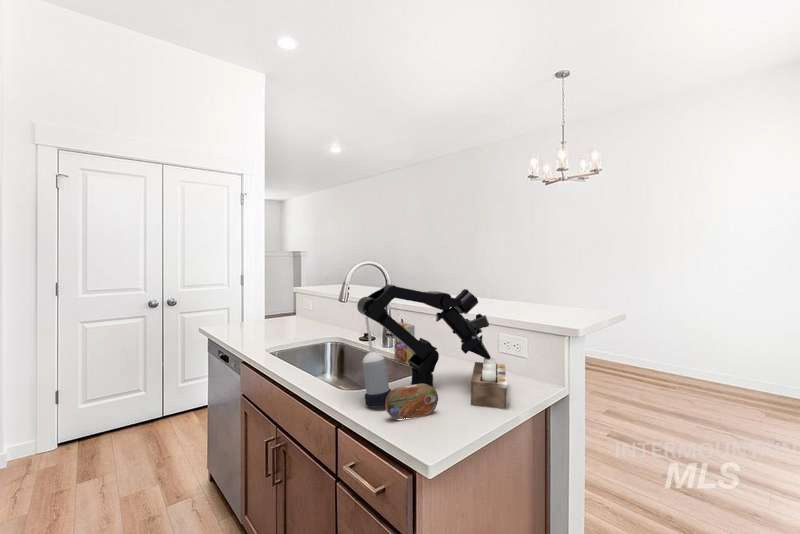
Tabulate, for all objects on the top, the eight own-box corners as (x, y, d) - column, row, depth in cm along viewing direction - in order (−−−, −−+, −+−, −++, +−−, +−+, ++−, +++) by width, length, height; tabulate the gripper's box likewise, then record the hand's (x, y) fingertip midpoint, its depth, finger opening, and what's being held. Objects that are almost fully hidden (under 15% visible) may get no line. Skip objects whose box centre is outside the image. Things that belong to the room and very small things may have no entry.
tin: (388, 423, 98) (388, 391, 98) (383, 418, 101) (383, 387, 101) (438, 413, 104) (438, 383, 104) (433, 409, 107) (433, 380, 107)
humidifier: (379, 397, 115) (367, 316, 118) (399, 399, 110) (386, 314, 112) (359, 406, 109) (347, 320, 112) (379, 408, 104) (366, 317, 106)
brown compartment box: (470, 405, 110) (471, 380, 110) (474, 382, 129) (475, 361, 129) (506, 408, 108) (506, 384, 107) (504, 384, 127) (505, 363, 127)
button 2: (483, 374, 123) (483, 360, 123) (483, 370, 127) (483, 357, 127) (495, 375, 122) (496, 361, 122) (495, 371, 126) (496, 358, 126)
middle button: (482, 380, 117) (482, 365, 117) (483, 375, 121) (483, 362, 121) (495, 381, 116) (496, 366, 116) (495, 377, 120) (496, 363, 120)
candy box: (393, 359, 156) (393, 322, 155) (401, 357, 159) (402, 321, 158) (406, 364, 149) (406, 326, 148) (414, 362, 151) (415, 325, 151)
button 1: (481, 387, 111) (481, 372, 110) (482, 382, 114) (482, 368, 114) (495, 388, 110) (495, 373, 109) (495, 384, 113) (496, 369, 113)
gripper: (473, 310, 116) (509, 349, 114) (476, 303, 134) (507, 337, 132) (446, 334, 118) (481, 372, 116) (453, 324, 137) (483, 357, 134)
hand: (489, 358), depth 124 cm, fingers closed, pressing on button 2
